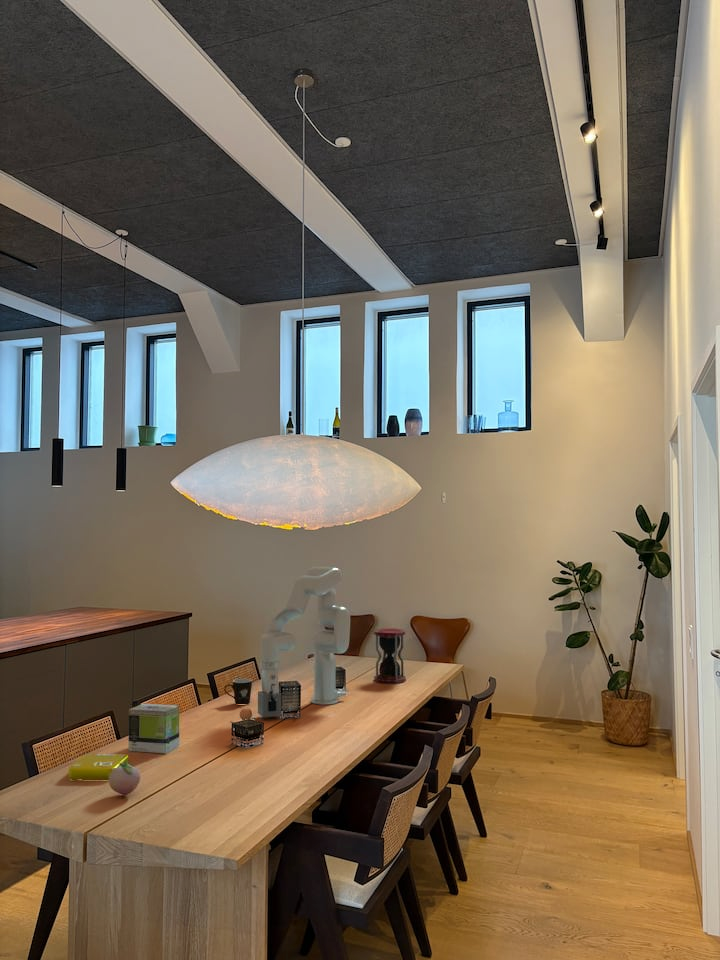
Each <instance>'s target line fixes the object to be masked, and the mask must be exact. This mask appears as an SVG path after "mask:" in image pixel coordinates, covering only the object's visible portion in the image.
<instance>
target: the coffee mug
mask: <svg viewBox="0 0 720 960" xmlns="http://www.w3.org/2000/svg"><path fill="white" fill-rule="evenodd" d="M252 686H253V679H250V678H236V679H233V680H232V684H231V683H230V684H227V685H224V687H223V689H224V693H226V695H228V696H229V697H231V698H233V699H234V704H235V703H236V704H248V703H251V696H252V695H251V694H252V689H253V688H252ZM227 687H231V688H232V689H233V695H232V694H230V693H229V692H227V689H226V688H227ZM236 704H235V705H236ZM248 705H249V704H248Z"/></svg>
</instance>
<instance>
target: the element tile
mask: <svg viewBox="0 0 720 960" xmlns="http://www.w3.org/2000/svg"><path fill="white" fill-rule="evenodd" d="M125 761H126V763H127V764H128V765H129V755H128V754H127V753H126V754H125V753H85V754H84V755H83V756H81V757H80V758H79V759H78V760H76V761H75V762H74V763H72V764H71V765H69V766H68V780H69V779H70V780H71V779H72V780H78V779H82V780H109V775H110V773H111V771H112V770H113V769H114V768H116V767H117V766H119V763H123V762H125Z"/></svg>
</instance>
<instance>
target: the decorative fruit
mask: <svg viewBox="0 0 720 960" xmlns="http://www.w3.org/2000/svg"><path fill="white" fill-rule="evenodd" d="M140 781H141V773H140V772H139V770H138V768H136V767H135V766H132V765H131V764H129V763H128V764H127V763H126V761H125V762H123V763H119V766H117V767H116V768H114V769H113V770H112V771H111V773H110V775H109V781H108V783H109V784H108V785H109V787H110V788H111V790H113V792H116V793H118V794H119V795H122V796H124V795H126V796H128V795H130V794H131V793H133V792H134V791H135V790H136V789H137V787H138V785H139V783H140Z"/></svg>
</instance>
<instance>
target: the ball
mask: <svg viewBox="0 0 720 960" xmlns="http://www.w3.org/2000/svg"><path fill="white" fill-rule="evenodd" d="M252 716H253V712H252V710H251V708H249V707H243V708H242V709H241V710H240V711H239V717H240V718H241V719H242V720H245V719H250V718H253V717H252Z"/></svg>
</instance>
